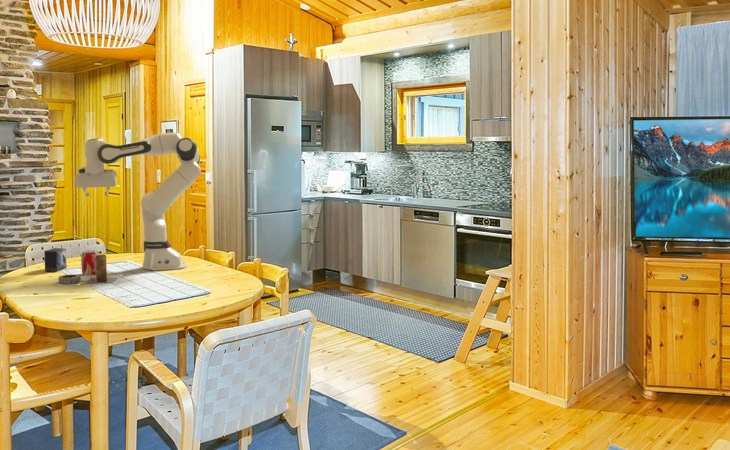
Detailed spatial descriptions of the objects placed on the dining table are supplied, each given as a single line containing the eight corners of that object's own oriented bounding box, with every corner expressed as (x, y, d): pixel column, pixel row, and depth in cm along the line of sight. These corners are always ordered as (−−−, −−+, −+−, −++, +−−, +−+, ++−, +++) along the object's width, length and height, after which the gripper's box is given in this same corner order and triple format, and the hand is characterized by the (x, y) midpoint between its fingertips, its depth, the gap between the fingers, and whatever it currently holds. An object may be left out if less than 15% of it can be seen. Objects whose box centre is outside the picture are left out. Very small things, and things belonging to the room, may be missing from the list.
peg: (107, 279, 293) (106, 254, 291) (106, 281, 289) (105, 256, 287) (97, 280, 292) (96, 254, 290) (95, 282, 287) (94, 256, 286)
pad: (117, 279, 299) (117, 277, 299) (112, 285, 288) (112, 282, 287) (90, 280, 297) (90, 277, 297) (84, 285, 285) (84, 283, 285)
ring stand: (87, 281, 294) (86, 273, 293) (80, 287, 282) (80, 278, 282) (59, 282, 291) (58, 274, 291) (51, 288, 280) (51, 279, 279)
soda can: (91, 277, 304) (90, 252, 302) (78, 276, 305) (77, 252, 304) (100, 274, 311) (99, 250, 309) (87, 273, 312) (86, 249, 311)
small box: (57, 271, 316) (56, 251, 315) (44, 271, 316) (43, 251, 315) (67, 268, 327) (66, 248, 326) (55, 267, 327) (54, 247, 326)
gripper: (117, 169, 338) (118, 194, 339) (75, 169, 333) (77, 196, 334) (115, 169, 331) (117, 195, 333) (73, 170, 327) (75, 196, 328)
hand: (97, 195), depth 334 cm, fingers open, 8 cm apart
